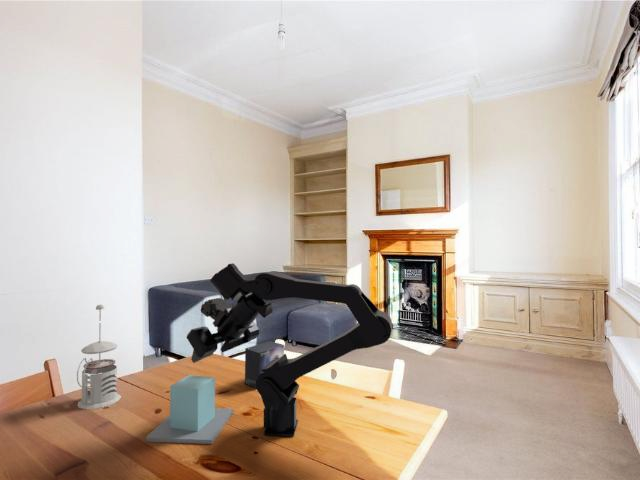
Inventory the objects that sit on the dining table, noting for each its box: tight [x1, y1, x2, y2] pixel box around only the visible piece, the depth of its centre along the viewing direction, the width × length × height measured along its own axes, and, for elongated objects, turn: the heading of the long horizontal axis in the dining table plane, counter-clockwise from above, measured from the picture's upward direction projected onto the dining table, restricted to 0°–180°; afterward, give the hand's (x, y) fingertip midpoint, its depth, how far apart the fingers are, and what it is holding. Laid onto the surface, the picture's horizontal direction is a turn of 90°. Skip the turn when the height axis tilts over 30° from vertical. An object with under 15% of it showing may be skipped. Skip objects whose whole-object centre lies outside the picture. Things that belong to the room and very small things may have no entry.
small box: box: [244, 340, 285, 389], centre depth 107 cm, size 11×6×10 cm, turn 143°
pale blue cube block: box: [169, 374, 216, 431], centre depth 81 cm, size 7×7×9 cm
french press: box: [76, 304, 122, 410], centre depth 93 cm, size 10×12×25 cm
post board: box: [145, 407, 235, 445], centre depth 81 cm, size 14×14×4 cm
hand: (207, 355), depth 88 cm, fingers open, 9 cm apart
